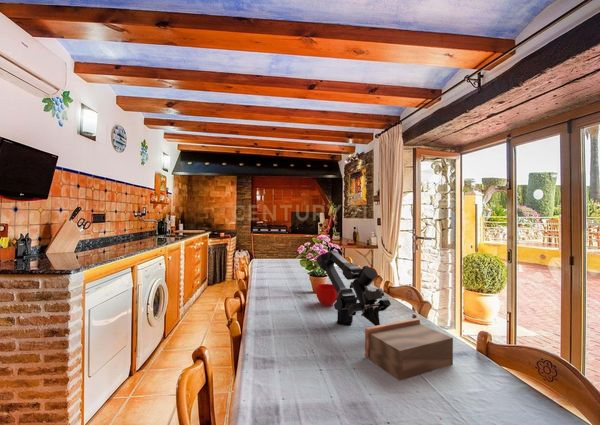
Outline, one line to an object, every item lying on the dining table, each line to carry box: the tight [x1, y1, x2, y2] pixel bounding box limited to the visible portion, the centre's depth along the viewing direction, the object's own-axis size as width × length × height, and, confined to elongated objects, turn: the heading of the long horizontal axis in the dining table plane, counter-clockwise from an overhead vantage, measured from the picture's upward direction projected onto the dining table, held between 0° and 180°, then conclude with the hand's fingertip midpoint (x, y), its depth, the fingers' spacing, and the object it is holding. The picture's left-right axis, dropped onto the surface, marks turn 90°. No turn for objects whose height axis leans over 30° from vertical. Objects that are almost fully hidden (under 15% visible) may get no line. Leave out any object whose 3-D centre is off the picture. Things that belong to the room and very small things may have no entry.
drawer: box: [364, 318, 421, 359], centre depth 100 cm, size 14×25×10 cm, turn 115°
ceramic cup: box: [315, 283, 337, 307], centre depth 161 cm, size 13×17×10 cm
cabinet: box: [369, 323, 454, 381], centre depth 98 cm, size 14×24×9 cm, turn 115°
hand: (378, 327), depth 113 cm, fingers closed
